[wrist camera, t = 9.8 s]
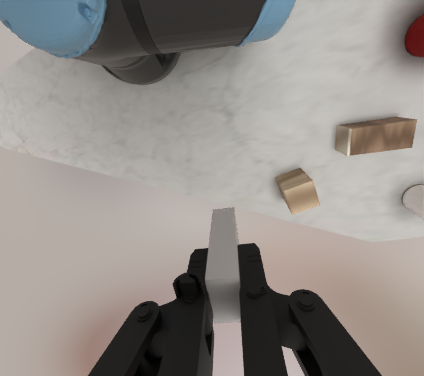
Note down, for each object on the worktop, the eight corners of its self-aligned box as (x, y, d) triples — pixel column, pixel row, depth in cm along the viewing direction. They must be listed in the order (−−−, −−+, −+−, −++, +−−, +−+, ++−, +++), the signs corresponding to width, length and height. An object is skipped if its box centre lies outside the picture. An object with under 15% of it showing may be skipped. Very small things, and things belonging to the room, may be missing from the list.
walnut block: (349, 129, 37) (416, 119, 36) (336, 125, 41) (397, 116, 40) (347, 155, 38) (411, 147, 37) (335, 149, 43) (393, 142, 42)
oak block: (275, 177, 45) (283, 191, 39) (300, 167, 44) (312, 180, 38) (283, 198, 47) (292, 214, 41) (307, 189, 46) (320, 205, 40)
